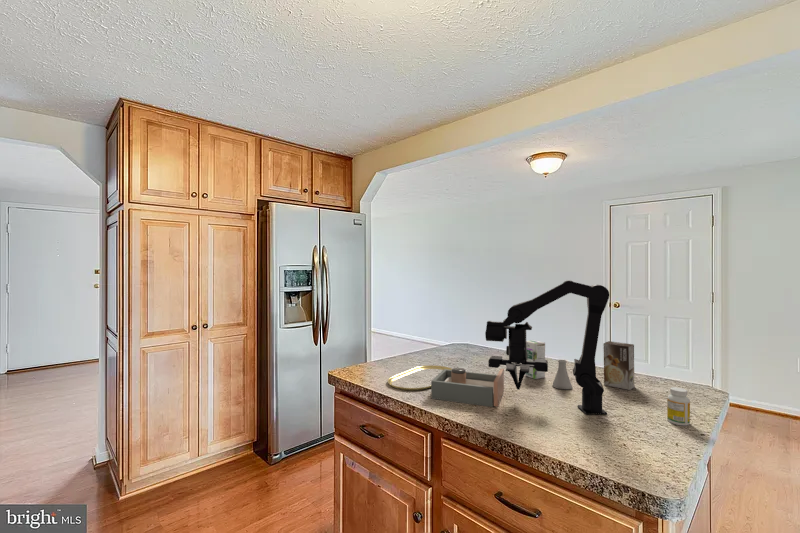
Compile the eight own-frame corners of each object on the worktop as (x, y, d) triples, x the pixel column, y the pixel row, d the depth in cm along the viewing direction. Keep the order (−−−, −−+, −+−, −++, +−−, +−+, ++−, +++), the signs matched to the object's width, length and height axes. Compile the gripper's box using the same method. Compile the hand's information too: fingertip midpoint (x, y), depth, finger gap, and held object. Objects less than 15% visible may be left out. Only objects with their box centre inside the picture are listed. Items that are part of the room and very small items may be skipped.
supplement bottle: (677, 426, 108) (677, 392, 108) (662, 419, 113) (662, 386, 113) (695, 425, 108) (694, 392, 108) (679, 418, 114) (679, 386, 114)
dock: (499, 391, 138) (499, 374, 138) (492, 406, 123) (492, 388, 123) (444, 384, 146) (444, 369, 146) (431, 398, 131) (431, 381, 131)
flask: (568, 384, 147) (568, 358, 147) (575, 390, 139) (575, 363, 139) (549, 383, 147) (549, 357, 147) (555, 389, 140) (555, 362, 140)
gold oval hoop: (377, 386, 145) (377, 382, 145) (425, 366, 174) (425, 363, 174) (419, 395, 135) (419, 391, 135) (463, 373, 163) (463, 369, 163)
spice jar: (467, 392, 133) (467, 371, 133) (452, 392, 133) (452, 371, 133) (464, 387, 138) (464, 367, 138) (449, 387, 138) (450, 367, 138)
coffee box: (635, 387, 143) (635, 344, 143) (629, 390, 139) (629, 346, 139) (609, 381, 150) (609, 340, 150) (602, 384, 146) (602, 342, 146)
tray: (503, 391, 137) (503, 368, 137) (497, 406, 122) (497, 381, 122) (449, 384, 145) (449, 363, 145) (437, 398, 130) (437, 375, 130)
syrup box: (524, 375, 158) (524, 340, 158) (535, 374, 160) (535, 339, 160) (534, 379, 153) (534, 343, 153) (545, 377, 155) (545, 342, 155)
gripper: (547, 339, 132) (548, 385, 132) (492, 336, 139) (493, 379, 139) (547, 346, 121) (548, 395, 121) (487, 342, 128) (488, 389, 128)
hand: (518, 389), depth 128 cm, fingers closed
